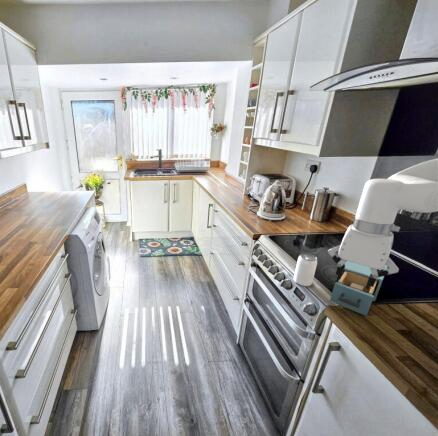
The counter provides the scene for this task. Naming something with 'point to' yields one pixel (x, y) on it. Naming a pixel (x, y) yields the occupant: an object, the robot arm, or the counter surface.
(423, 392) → the counter surface
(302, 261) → the can
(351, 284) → the bundle
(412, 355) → the counter surface
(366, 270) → the cabinet
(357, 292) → the drawer
